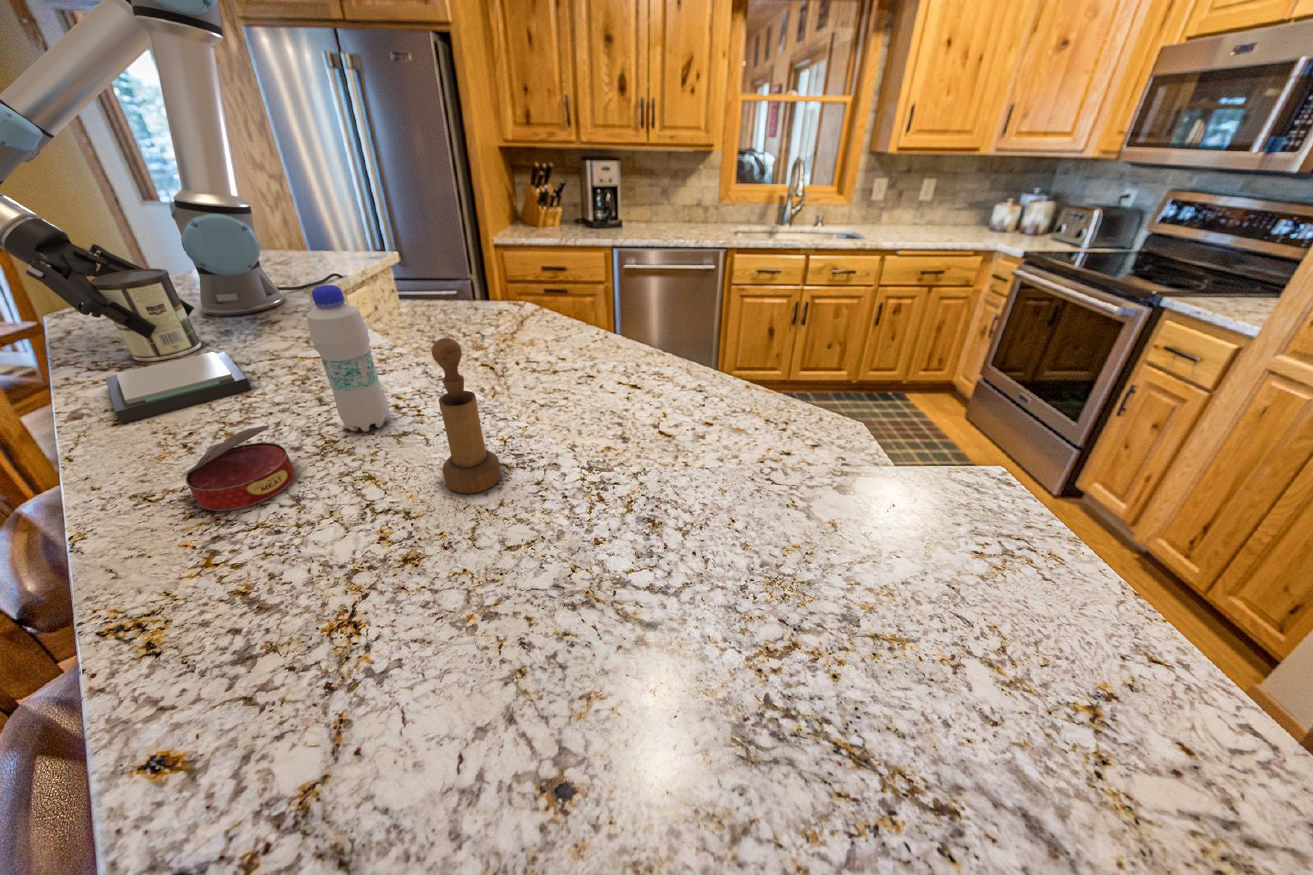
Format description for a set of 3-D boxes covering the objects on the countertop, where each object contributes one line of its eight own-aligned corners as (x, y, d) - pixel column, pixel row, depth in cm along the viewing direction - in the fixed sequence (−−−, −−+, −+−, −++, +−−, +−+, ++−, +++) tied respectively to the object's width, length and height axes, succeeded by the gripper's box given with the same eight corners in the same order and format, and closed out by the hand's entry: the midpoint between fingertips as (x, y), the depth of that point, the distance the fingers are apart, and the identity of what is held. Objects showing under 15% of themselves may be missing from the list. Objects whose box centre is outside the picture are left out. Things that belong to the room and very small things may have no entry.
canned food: (234, 543, 62) (144, 501, 54) (234, 491, 68) (154, 447, 61) (317, 482, 63) (240, 433, 56) (309, 437, 70) (240, 388, 63)
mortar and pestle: (511, 469, 67) (489, 333, 58) (481, 499, 62) (450, 355, 52) (467, 459, 69) (438, 326, 59) (434, 487, 64) (396, 346, 54)
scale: (229, 361, 96) (222, 347, 94) (251, 389, 86) (245, 373, 85) (111, 389, 86) (102, 373, 84) (122, 424, 76) (111, 406, 75)
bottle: (403, 418, 78) (366, 282, 68) (365, 440, 73) (317, 295, 62) (371, 409, 80) (330, 276, 70) (331, 429, 75) (280, 288, 65)
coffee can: (167, 340, 104) (130, 267, 97) (215, 342, 104) (182, 268, 96) (116, 360, 96) (72, 282, 88) (168, 363, 95) (128, 284, 88)
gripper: (69, 237, 98) (199, 317, 108) (-54, 267, 79) (118, 360, 89) (85, 206, 96) (216, 290, 106) (-38, 229, 77) (137, 329, 87)
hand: (171, 322), depth 97 cm, fingers closed on coffee can, 10 cm apart
